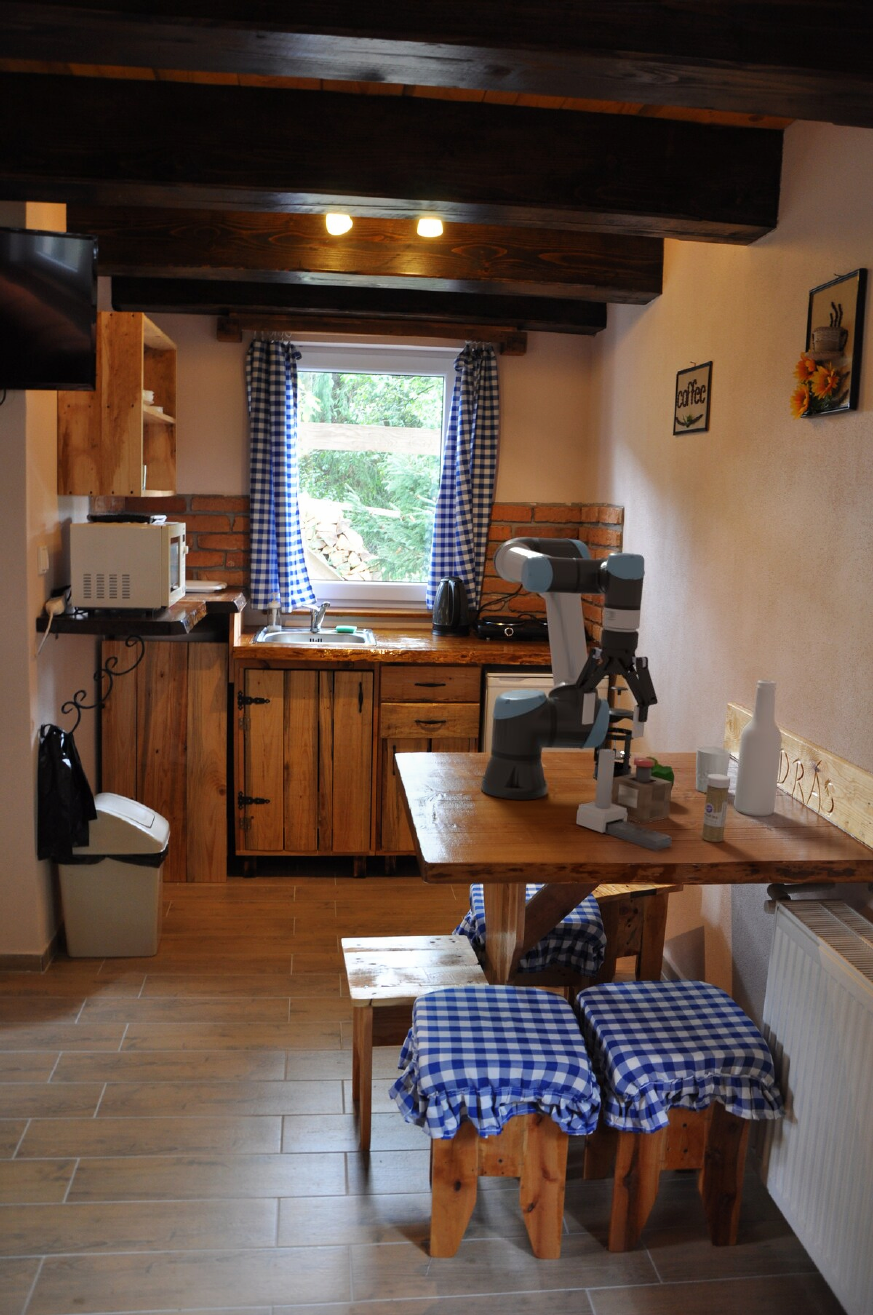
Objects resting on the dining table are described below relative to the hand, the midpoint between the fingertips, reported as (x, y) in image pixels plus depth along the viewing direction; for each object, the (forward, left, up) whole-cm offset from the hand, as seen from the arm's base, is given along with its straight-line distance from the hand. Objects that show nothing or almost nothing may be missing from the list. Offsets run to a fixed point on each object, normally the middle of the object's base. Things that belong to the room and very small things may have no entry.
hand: (611, 730), depth 223 cm
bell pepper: (-7, +26, -21) cm, 34 cm away
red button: (-1, +13, -16) cm, 21 cm away
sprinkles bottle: (+18, +13, -21) cm, 30 cm away
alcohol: (+11, +39, -21) cm, 46 cm away
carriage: (0, -1, -21) cm, 21 cm away
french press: (-25, +32, -21) cm, 46 cm away
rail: (+6, -1, -21) cm, 22 cm away
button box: (-1, +13, -21) cm, 24 cm away
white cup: (-5, +45, -21) cm, 50 cm away
